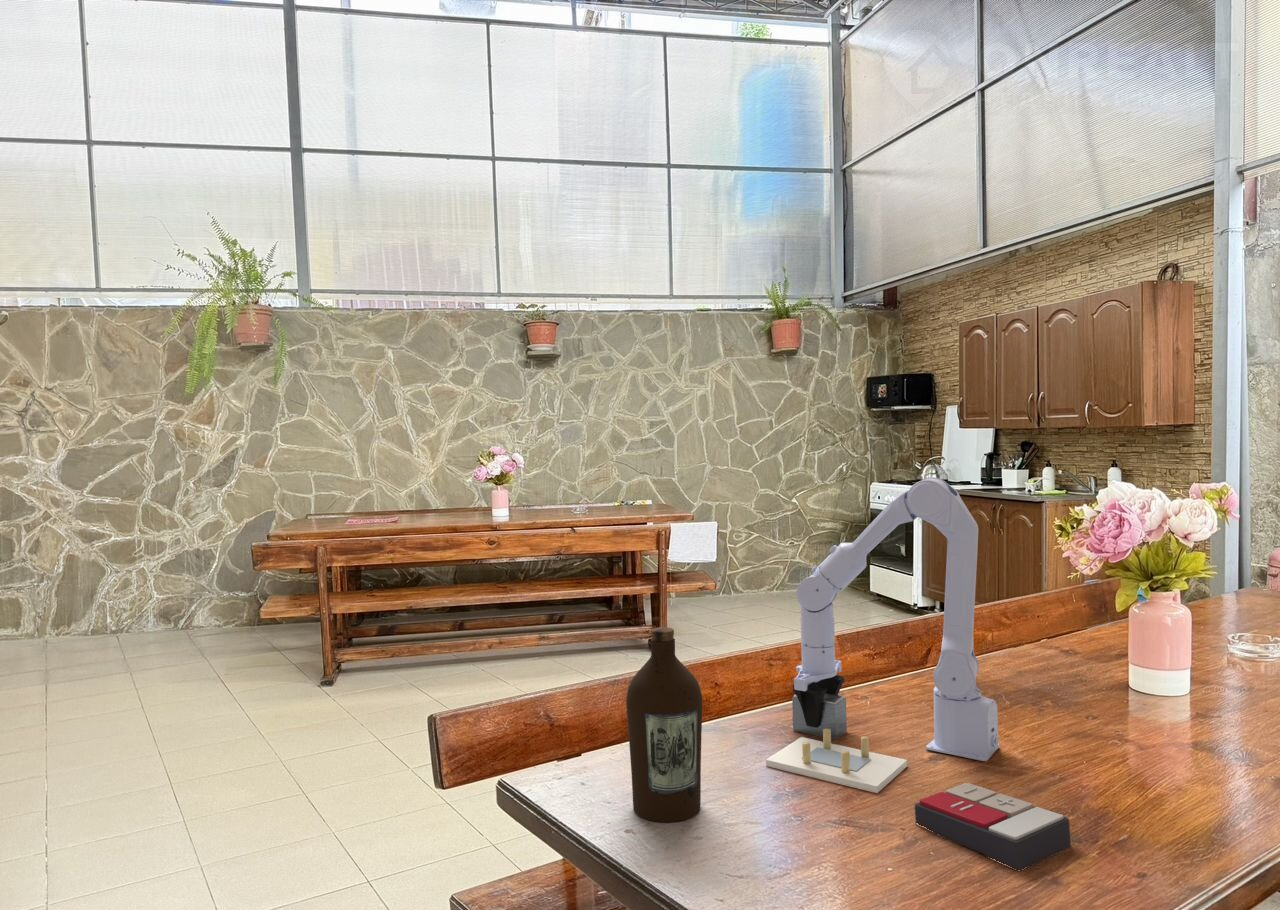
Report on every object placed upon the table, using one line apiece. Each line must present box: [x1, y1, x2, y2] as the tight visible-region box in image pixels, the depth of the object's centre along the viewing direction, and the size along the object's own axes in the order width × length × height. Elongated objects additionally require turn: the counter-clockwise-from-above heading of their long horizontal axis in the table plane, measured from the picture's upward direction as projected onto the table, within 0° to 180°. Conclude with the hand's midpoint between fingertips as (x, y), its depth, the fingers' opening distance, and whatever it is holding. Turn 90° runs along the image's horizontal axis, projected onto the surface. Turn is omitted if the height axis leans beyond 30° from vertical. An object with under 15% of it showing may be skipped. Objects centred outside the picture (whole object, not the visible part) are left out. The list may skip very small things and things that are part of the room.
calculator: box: [914, 782, 1071, 871], centre depth 107 cm, size 11×4×15 cm
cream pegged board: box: [765, 729, 908, 794], centre depth 130 cm, size 18×12×4 cm, turn 52°
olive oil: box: [625, 626, 703, 823], centre depth 117 cm, size 11×11×25 cm
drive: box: [791, 693, 848, 740], centre depth 146 cm, size 8×4×6 cm, turn 52°
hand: (819, 721), depth 146 cm, fingers open, 5 cm apart
